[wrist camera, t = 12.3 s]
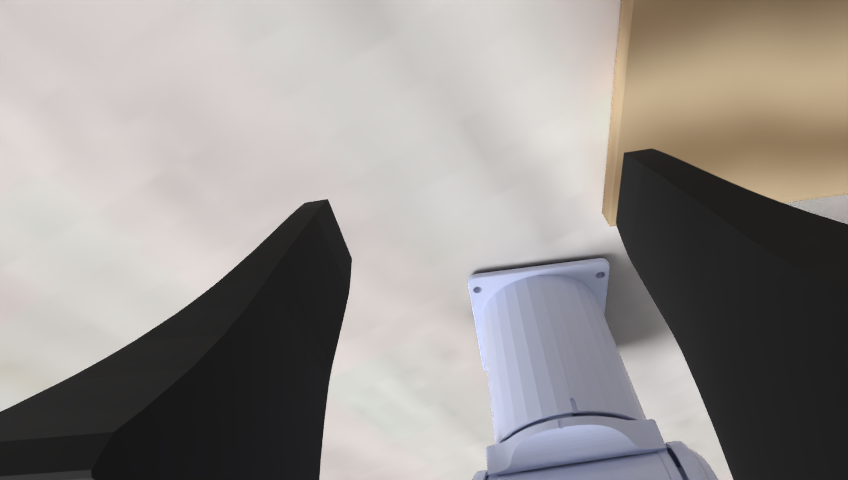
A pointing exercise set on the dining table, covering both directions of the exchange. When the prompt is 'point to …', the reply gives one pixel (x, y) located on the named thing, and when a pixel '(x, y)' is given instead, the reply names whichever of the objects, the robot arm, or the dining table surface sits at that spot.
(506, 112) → the dining table surface
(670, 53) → the board
